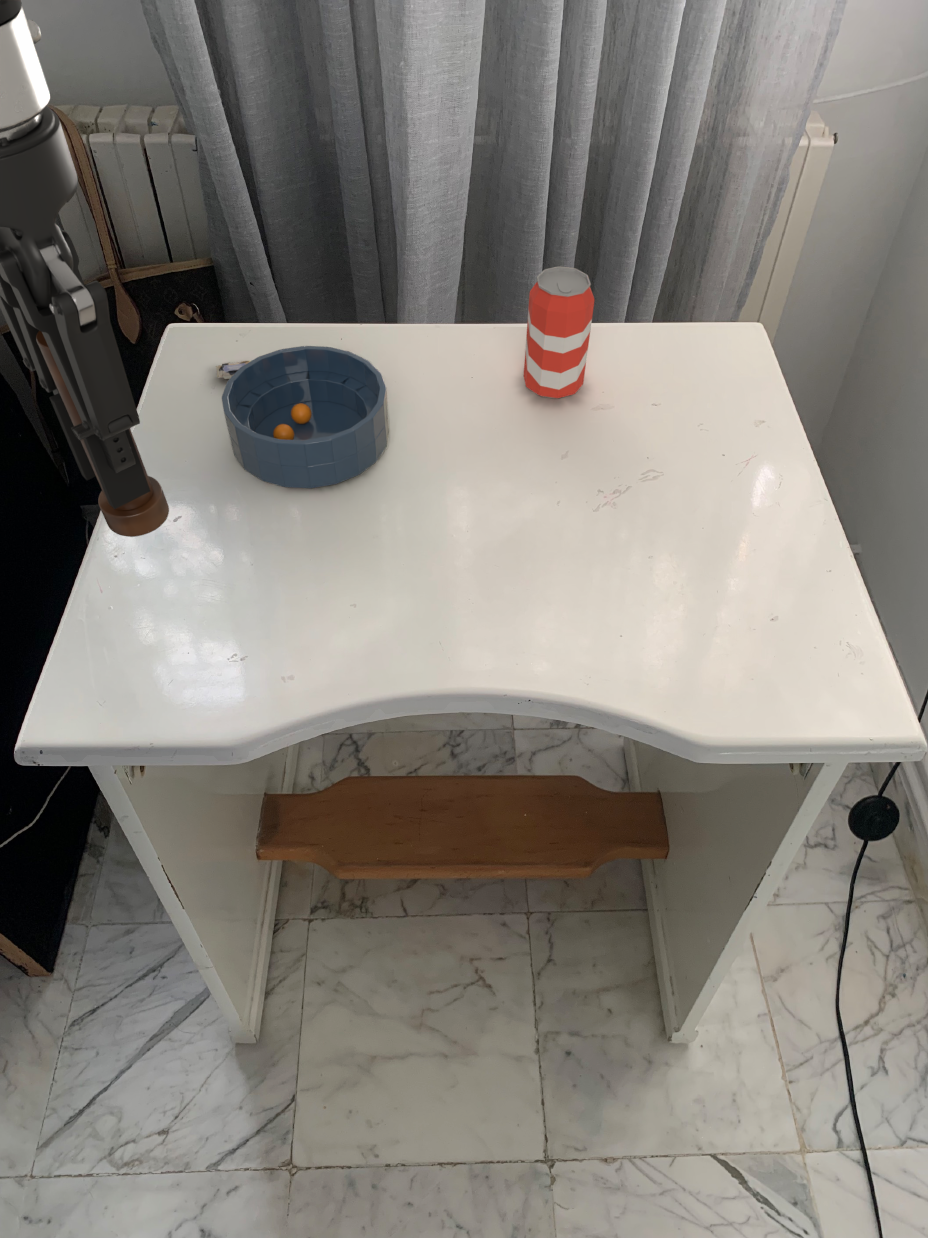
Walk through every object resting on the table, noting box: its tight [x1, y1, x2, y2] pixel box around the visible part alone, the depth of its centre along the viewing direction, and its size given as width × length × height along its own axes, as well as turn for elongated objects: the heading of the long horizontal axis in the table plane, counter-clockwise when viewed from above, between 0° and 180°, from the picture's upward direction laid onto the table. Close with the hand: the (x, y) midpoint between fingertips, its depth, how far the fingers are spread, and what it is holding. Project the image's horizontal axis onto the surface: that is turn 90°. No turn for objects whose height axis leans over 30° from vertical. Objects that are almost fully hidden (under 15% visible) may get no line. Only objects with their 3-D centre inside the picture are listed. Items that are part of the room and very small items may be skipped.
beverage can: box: [523, 265, 595, 400], centre depth 90 cm, size 6×6×12 cm
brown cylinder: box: [36, 331, 170, 538], centre depth 58 cm, size 4×4×15 cm
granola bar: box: [215, 359, 253, 380], centre depth 95 cm, size 7×2×1 cm, turn 102°
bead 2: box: [291, 403, 311, 424], centre depth 88 cm, size 2×2×2 cm
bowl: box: [221, 345, 390, 489], centre depth 86 cm, size 15×15×6 cm
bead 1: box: [273, 424, 294, 440], centre depth 86 cm, size 2×2×2 cm
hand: (115, 482), depth 61 cm, fingers closed on brown cylinder, 3 cm apart
